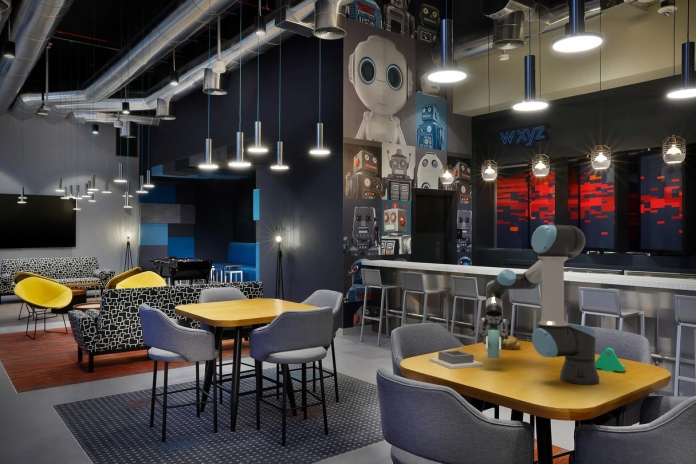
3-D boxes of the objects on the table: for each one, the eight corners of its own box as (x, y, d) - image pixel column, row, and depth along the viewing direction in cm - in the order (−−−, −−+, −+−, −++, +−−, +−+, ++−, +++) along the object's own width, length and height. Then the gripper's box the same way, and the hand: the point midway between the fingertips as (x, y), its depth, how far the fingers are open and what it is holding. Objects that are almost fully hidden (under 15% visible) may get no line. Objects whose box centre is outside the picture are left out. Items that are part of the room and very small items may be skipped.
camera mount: (625, 370, 248) (625, 348, 248) (622, 373, 242) (623, 350, 242) (597, 366, 255) (597, 344, 255) (593, 369, 248) (593, 347, 249)
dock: (483, 366, 250) (483, 355, 250) (451, 369, 243) (451, 358, 243) (459, 358, 266) (460, 348, 267) (428, 360, 259) (429, 350, 259)
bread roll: (522, 348, 294) (522, 333, 294) (517, 351, 286) (517, 336, 286) (498, 345, 301) (499, 331, 301) (493, 348, 293) (493, 333, 293)
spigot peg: (501, 357, 243) (501, 331, 243) (492, 358, 241) (492, 331, 241) (494, 355, 247) (494, 329, 248) (485, 356, 245) (485, 329, 246)
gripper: (513, 315, 257) (514, 356, 241) (474, 313, 262) (472, 353, 245) (514, 304, 252) (514, 346, 236) (474, 303, 257) (472, 343, 241)
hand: (493, 350), depth 241 cm, fingers closed on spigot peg, 5 cm apart
